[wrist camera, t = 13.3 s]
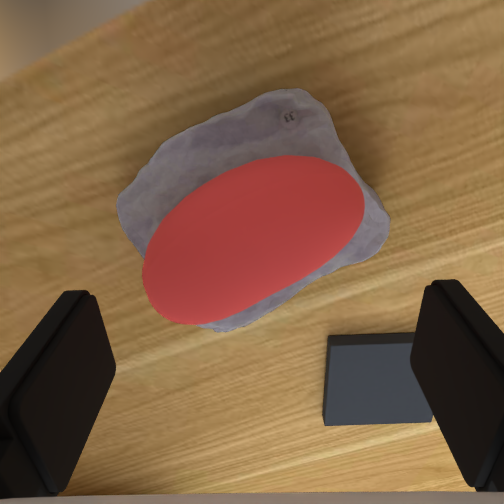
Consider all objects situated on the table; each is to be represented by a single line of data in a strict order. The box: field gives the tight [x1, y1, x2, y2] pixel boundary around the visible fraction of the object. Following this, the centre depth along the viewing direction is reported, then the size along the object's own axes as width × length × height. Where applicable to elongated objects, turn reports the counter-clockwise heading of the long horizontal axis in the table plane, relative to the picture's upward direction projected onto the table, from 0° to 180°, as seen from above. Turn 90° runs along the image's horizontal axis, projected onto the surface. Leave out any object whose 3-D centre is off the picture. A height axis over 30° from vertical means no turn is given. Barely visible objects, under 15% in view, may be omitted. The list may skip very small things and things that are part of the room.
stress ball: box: [142, 155, 365, 325], centre depth 14 cm, size 5×9×6 cm, turn 112°
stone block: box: [116, 88, 390, 332], centre depth 19 cm, size 12×5×10 cm
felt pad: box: [322, 333, 433, 426], centre depth 27 cm, size 8×8×1 cm
